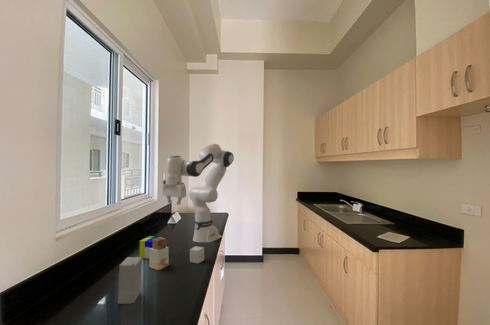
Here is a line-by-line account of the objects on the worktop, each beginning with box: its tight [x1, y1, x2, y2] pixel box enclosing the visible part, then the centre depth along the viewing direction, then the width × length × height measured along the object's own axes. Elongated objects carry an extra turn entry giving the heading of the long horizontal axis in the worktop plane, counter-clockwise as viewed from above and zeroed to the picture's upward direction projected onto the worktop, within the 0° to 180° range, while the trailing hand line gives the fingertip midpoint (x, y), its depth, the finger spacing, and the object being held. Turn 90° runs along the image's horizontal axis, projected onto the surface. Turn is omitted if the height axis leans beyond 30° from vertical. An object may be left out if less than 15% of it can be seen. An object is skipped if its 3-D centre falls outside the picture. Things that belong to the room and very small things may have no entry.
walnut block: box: [152, 236, 167, 250], centre depth 131 cm, size 5×5×5 cm
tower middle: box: [148, 246, 170, 261], centre depth 131 cm, size 7×7×5 cm
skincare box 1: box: [117, 256, 143, 305], centre depth 99 cm, size 8×7×16 cm
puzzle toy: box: [139, 235, 165, 259], centre depth 148 cm, size 10×10×10 cm
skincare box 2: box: [189, 245, 205, 264], centre depth 139 cm, size 6×6×7 cm
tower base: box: [148, 256, 170, 271], centre depth 131 cm, size 7×7×5 cm
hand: (174, 203), depth 150 cm, fingers open, 8 cm apart
